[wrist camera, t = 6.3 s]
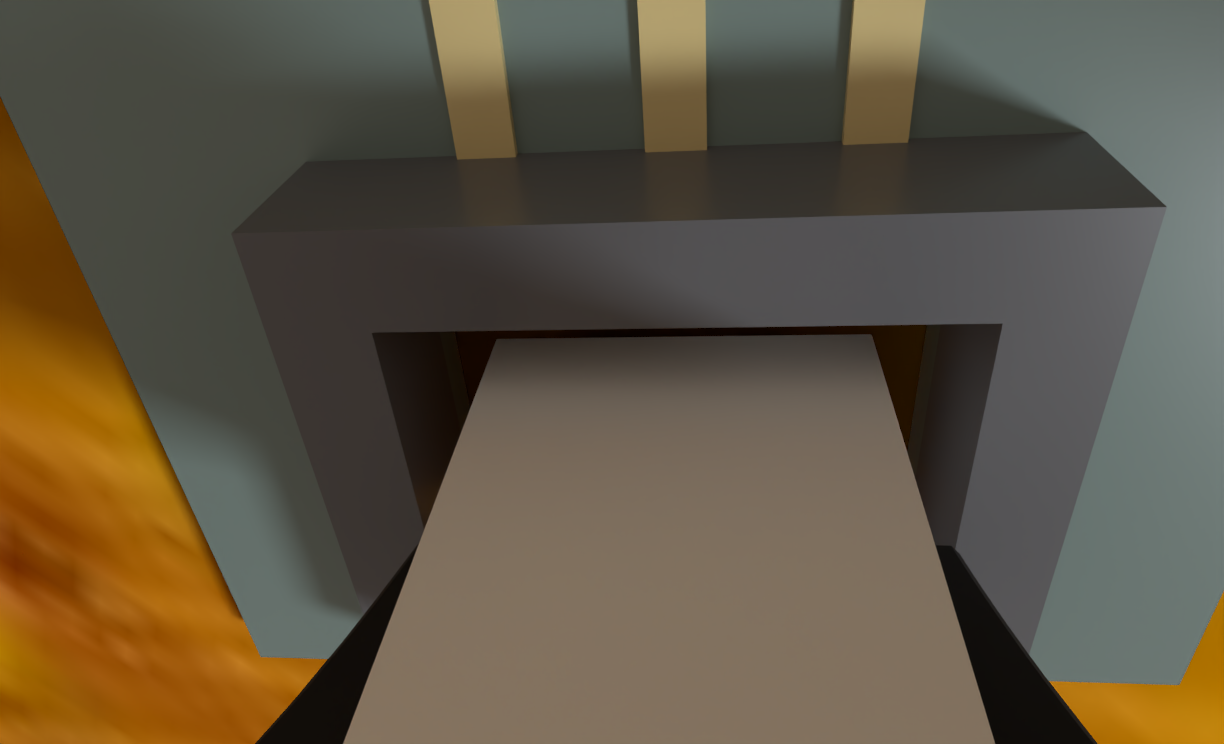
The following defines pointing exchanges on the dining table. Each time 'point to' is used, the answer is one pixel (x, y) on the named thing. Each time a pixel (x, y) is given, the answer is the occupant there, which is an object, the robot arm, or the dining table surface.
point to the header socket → (660, 258)
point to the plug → (676, 558)
